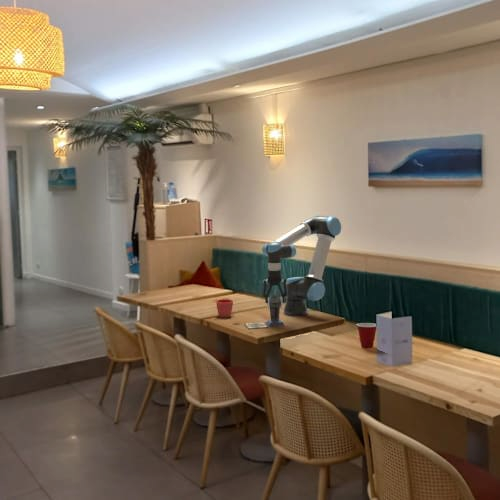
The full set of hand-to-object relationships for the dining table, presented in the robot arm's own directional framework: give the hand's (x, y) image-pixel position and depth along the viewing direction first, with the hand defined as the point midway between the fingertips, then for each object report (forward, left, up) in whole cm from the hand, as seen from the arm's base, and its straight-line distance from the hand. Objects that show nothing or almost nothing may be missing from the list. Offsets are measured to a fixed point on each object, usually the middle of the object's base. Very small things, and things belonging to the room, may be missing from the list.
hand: (274, 308), depth 372 cm
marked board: (+11, +1, -10) cm, 15 cm away
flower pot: (+25, -31, -10) cm, 41 cm away
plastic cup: (-34, +59, -10) cm, 69 cm away
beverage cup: (0, 0, -8) cm, 8 cm away
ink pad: (0, 0, -10) cm, 10 cm away
